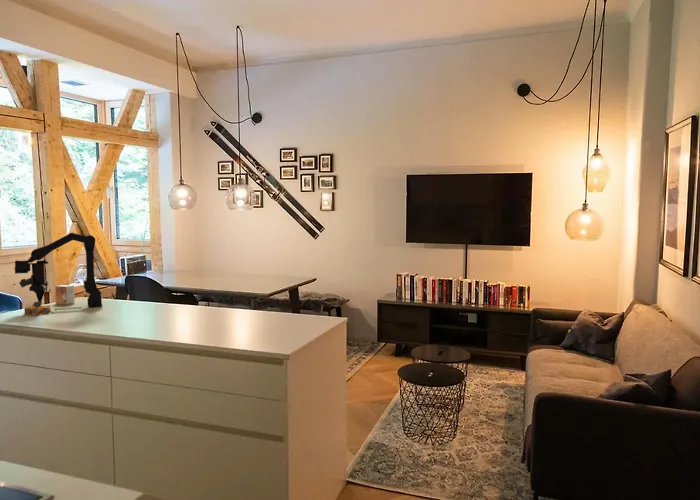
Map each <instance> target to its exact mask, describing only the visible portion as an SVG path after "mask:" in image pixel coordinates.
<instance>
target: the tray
mask: <svg viewBox="0 0 700 500" xmlns="http://www.w3.org/2000/svg"><path fill="white" fill-rule="evenodd" d="M84 308H85V307H84V306H83V305H82V306H68V307H53V309H51V310H52V311H51V313H50V314H64V313H75V312H77V313H79V312H83V310H84Z"/></svg>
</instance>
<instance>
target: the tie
mask: <svg viewBox="0 0 700 500" xmlns="http://www.w3.org/2000/svg"><path fill="white" fill-rule="evenodd" d="M42 303H43V301H41V302H38V301H34V303H33V304H32V306H35V307H38V306H40V305H42Z"/></svg>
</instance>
